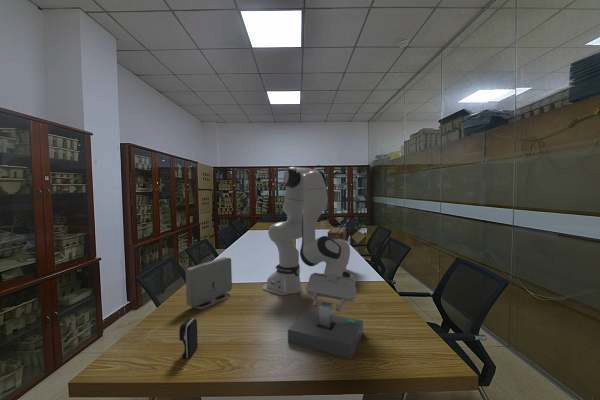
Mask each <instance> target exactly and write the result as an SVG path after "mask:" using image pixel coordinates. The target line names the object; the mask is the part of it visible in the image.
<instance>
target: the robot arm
mask: <svg viewBox="0 0 600 400" xmlns="http://www.w3.org/2000/svg"><path fill="white" fill-rule="evenodd" d="M282 178H283V183H284V185H285V187H286V190H285V194H284V199H283V204H282V211H283V213H284V214H286V221H279V222H276V223H274V224H271V225H270V226H269V228H268V232H267V234H268V236H269V237H268V238H269V239H270V241H272V242H273V243H274V244H275V246H276V248H277V251H278V261H279V264H277V265H276V266H275V269H276V271H275V272H273V273H271V274H270V275H269V276H268V277H267V279H266V283H265V284H264V285H263V286H262V290H263V291H265V292H269V293H272V294H276V295H279V296H286V295H292V294H297V293H301V291H302V290H303V287H302V283H301V278H300V273H301V269H300V268H301V267H300V266H301V265H300V259H301V261H302V262H303V263H304V264H305V265H306V266H308V267H314V266H317V265H318V264H320V263H322V262H324V263H325V268H324V271H323V273H319V272H313V273H311V274H310V276H309V278H308V282H307V284H306V286H305V291H306V293H307V294H308V295H311V296H312V300H313V302H312V306H313V307H317V308H318V307H319V306H318V305H319V302H318V300H317V299H318V297H321V298H327V299H333V300H339V301H340V302H339V304H336V307H335V310H336V312H341V311H342V310H341V309H342V307H343V306H344V305H345V304H346V302H347V303H349V302H350V303H354V302H355V301H356V298H357V287H356V277H355V276H354V274H353V273H351V272H348V271H347V266H348V265H349V260H350V256H351V248H350V247H351V246H350V244H349V243H348V242H347V240H346V241H345V240H342V239H331V238H330V237H328V235H322V236H320V237H318V238H316V224H317V221H318V219H319V218H320V216H321V215H322V214H323V212H324V211H325V210H326V208H327V206H328V203H329V202H328V198H329V197H328V192H327V191H328V190H327V186H326V182H327V176H326V174H325V172H324V171H322V170H320V169H314V168H310V167H295V166H290V167H287V168H286V169H285V171H284V174H283V177H282ZM297 239H301V246H300V250H299V249H298V248H296V247H295V246H294V245H293V240H297Z"/></svg>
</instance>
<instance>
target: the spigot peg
mask: <svg viewBox="0 0 600 400" xmlns="http://www.w3.org/2000/svg"><path fill="white" fill-rule="evenodd" d="M318 305H319V306H318V308H319V309H318V312H319V324H320V328H324V329H328V330H332V329H333V315H334V309H333V308H334V307H333V306H334V303H333V302H328V301H322V302H321V303H320V304H318Z"/></svg>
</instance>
